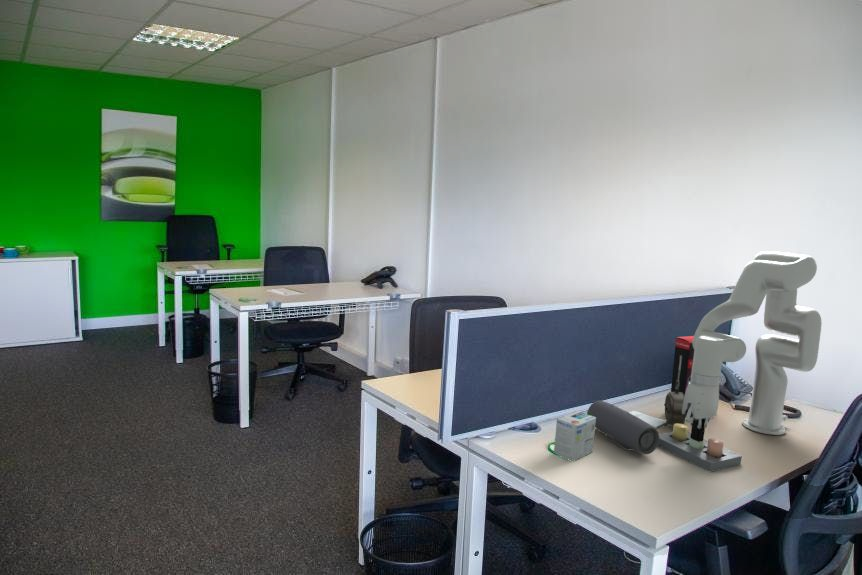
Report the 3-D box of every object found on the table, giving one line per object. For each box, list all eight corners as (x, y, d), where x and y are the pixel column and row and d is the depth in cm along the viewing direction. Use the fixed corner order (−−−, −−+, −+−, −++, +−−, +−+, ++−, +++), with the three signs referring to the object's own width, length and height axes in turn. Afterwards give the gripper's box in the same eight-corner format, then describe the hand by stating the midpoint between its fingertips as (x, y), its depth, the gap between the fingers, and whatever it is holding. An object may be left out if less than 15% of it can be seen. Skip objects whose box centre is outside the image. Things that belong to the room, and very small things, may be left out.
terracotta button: (712, 450, 173) (714, 437, 172) (725, 456, 169) (726, 443, 169) (703, 452, 171) (705, 439, 170) (715, 458, 167) (717, 445, 167)
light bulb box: (573, 444, 177) (576, 409, 175) (593, 452, 172) (597, 416, 170) (552, 454, 169) (555, 417, 168) (573, 462, 165) (576, 425, 163)
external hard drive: (655, 431, 193) (621, 419, 202) (668, 426, 198) (633, 414, 207) (656, 426, 193) (621, 414, 202) (668, 421, 198) (634, 409, 207)
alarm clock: (684, 435, 189) (690, 386, 187) (666, 433, 190) (672, 384, 188) (677, 423, 200) (683, 376, 198) (660, 420, 201) (666, 374, 199)
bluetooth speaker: (659, 457, 172) (663, 423, 170) (633, 460, 168) (637, 426, 167) (607, 427, 193) (610, 397, 191) (583, 430, 189) (586, 399, 187)
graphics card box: (681, 419, 204) (692, 341, 200) (665, 412, 210) (675, 336, 206) (716, 413, 212) (726, 338, 208) (699, 406, 218) (709, 333, 214)
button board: (682, 437, 187) (683, 429, 187) (740, 464, 170) (741, 456, 170) (652, 443, 181) (653, 435, 181) (710, 471, 164) (711, 463, 164)
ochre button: (678, 435, 183) (680, 422, 183) (689, 440, 180) (691, 427, 179) (669, 436, 181) (670, 424, 181) (680, 442, 178) (681, 429, 177)
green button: (694, 448, 178) (695, 436, 178) (705, 454, 175) (707, 441, 174) (685, 450, 176) (686, 437, 176) (696, 456, 173) (698, 443, 172)
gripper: (710, 373, 179) (702, 431, 182) (676, 377, 172) (668, 438, 175) (733, 380, 172) (724, 441, 175) (698, 385, 165) (689, 448, 168)
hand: (696, 439), depth 175 cm, fingers closed
